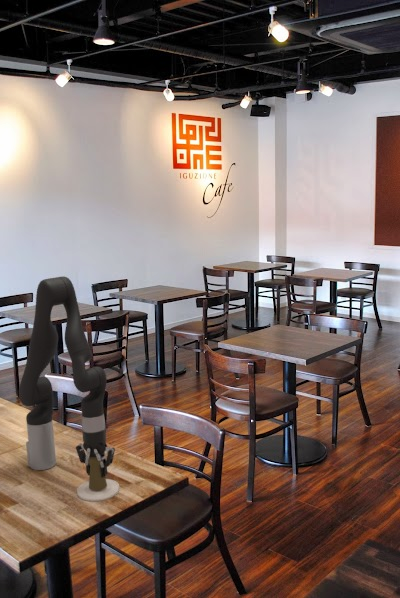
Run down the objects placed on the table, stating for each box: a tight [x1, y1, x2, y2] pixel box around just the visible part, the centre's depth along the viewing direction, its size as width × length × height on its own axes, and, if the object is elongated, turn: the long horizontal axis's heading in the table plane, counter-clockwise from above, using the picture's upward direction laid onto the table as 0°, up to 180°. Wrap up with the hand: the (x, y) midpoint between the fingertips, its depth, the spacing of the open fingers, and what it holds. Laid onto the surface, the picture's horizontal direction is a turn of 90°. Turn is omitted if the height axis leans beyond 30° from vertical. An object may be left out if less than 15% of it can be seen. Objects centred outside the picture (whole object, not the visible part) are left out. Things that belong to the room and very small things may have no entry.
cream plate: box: [76, 478, 120, 502], centre depth 206 cm, size 14×14×1 cm
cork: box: [88, 456, 107, 490], centre depth 205 cm, size 6×6×11 cm
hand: (97, 475), depth 205 cm, fingers closed on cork, 4 cm apart
